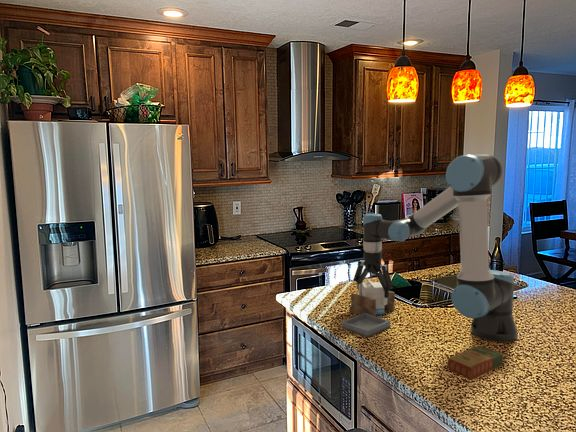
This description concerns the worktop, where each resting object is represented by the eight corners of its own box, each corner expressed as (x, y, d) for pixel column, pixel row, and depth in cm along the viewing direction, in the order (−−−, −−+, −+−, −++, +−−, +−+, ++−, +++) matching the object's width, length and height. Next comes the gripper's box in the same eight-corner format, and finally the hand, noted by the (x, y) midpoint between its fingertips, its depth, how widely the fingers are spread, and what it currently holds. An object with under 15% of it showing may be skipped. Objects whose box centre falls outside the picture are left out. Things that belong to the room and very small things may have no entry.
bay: (394, 310, 181) (394, 292, 180) (374, 319, 172) (374, 300, 171) (369, 303, 191) (369, 286, 190) (349, 311, 182) (349, 293, 181)
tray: (390, 327, 164) (390, 320, 163) (367, 337, 155) (367, 331, 154) (364, 318, 173) (364, 312, 173) (341, 328, 164) (341, 321, 164)
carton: (447, 370, 130) (447, 357, 130) (478, 356, 139) (478, 343, 138) (471, 381, 123) (472, 367, 123) (503, 366, 132) (503, 352, 131)
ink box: (384, 314, 177) (384, 283, 175) (364, 315, 177) (364, 283, 175) (380, 307, 185) (380, 277, 183) (361, 308, 185) (361, 278, 184)
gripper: (402, 253, 171) (402, 305, 174) (356, 245, 189) (356, 293, 192) (391, 256, 166) (391, 310, 169) (344, 248, 184) (345, 297, 187)
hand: (372, 301), depth 181 cm, fingers closed on ink box, 11 cm apart
